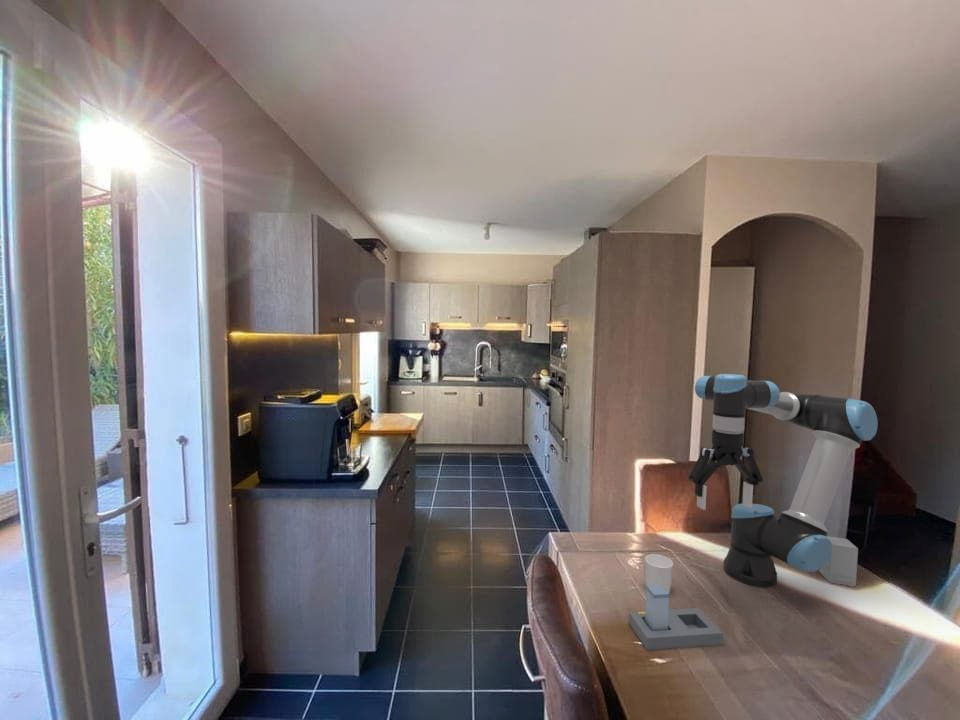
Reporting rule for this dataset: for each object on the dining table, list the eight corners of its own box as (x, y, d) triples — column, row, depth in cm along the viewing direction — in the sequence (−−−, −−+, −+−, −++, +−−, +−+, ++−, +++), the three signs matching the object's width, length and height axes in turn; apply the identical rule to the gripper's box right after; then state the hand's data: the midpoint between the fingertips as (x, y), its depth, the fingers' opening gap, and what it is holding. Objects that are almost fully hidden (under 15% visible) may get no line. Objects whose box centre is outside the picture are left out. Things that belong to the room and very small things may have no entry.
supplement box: (856, 587, 134) (859, 548, 134) (828, 583, 137) (830, 544, 136) (845, 575, 141) (847, 538, 141) (818, 571, 144) (820, 534, 143)
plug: (659, 628, 113) (660, 584, 112) (667, 639, 109) (669, 594, 108) (644, 629, 112) (646, 585, 111) (652, 640, 108) (654, 594, 108)
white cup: (674, 601, 126) (675, 569, 125) (646, 598, 127) (647, 565, 127) (668, 586, 134) (669, 555, 133) (641, 583, 135) (643, 552, 135)
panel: (697, 621, 117) (698, 607, 117) (722, 648, 107) (723, 632, 107) (628, 626, 115) (628, 611, 115) (646, 653, 105) (647, 637, 105)
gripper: (759, 427, 121) (755, 500, 122) (676, 428, 118) (673, 502, 119) (780, 433, 113) (776, 511, 115) (693, 434, 111) (689, 514, 112)
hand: (724, 507), depth 117 cm, fingers open, 13 cm apart
